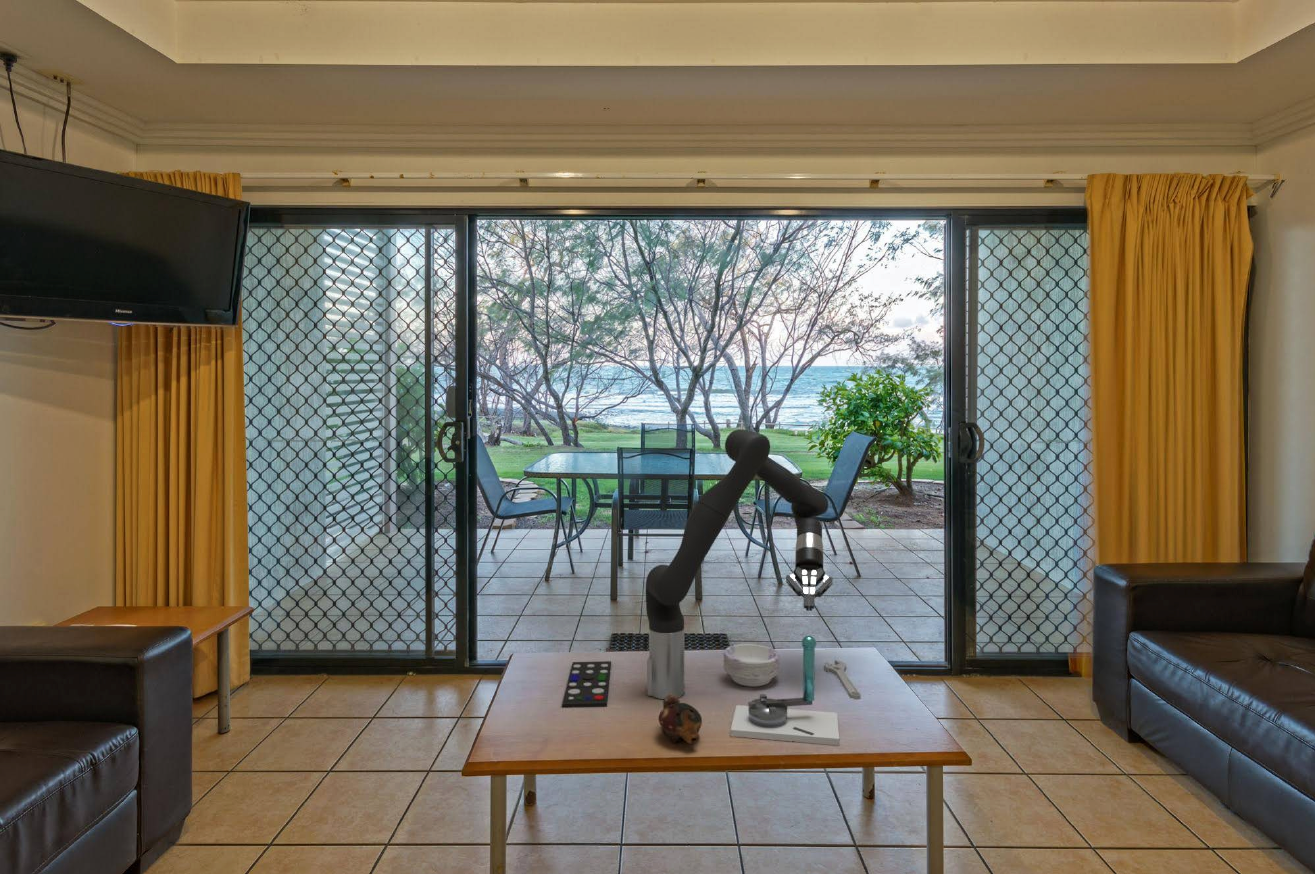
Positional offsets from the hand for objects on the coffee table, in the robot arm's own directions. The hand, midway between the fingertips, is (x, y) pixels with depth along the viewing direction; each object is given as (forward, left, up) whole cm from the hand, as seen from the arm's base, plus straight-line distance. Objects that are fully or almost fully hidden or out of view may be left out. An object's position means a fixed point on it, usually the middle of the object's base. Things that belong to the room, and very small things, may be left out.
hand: (809, 609), depth 192 cm
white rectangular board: (-5, -23, -22) cm, 32 cm away
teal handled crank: (-6, -22, -20) cm, 30 cm away
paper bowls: (-15, +5, -22) cm, 27 cm away
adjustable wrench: (+9, +10, -22) cm, 26 cm away
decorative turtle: (-28, -33, -22) cm, 49 cm away
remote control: (-58, -6, -23) cm, 63 cm away
